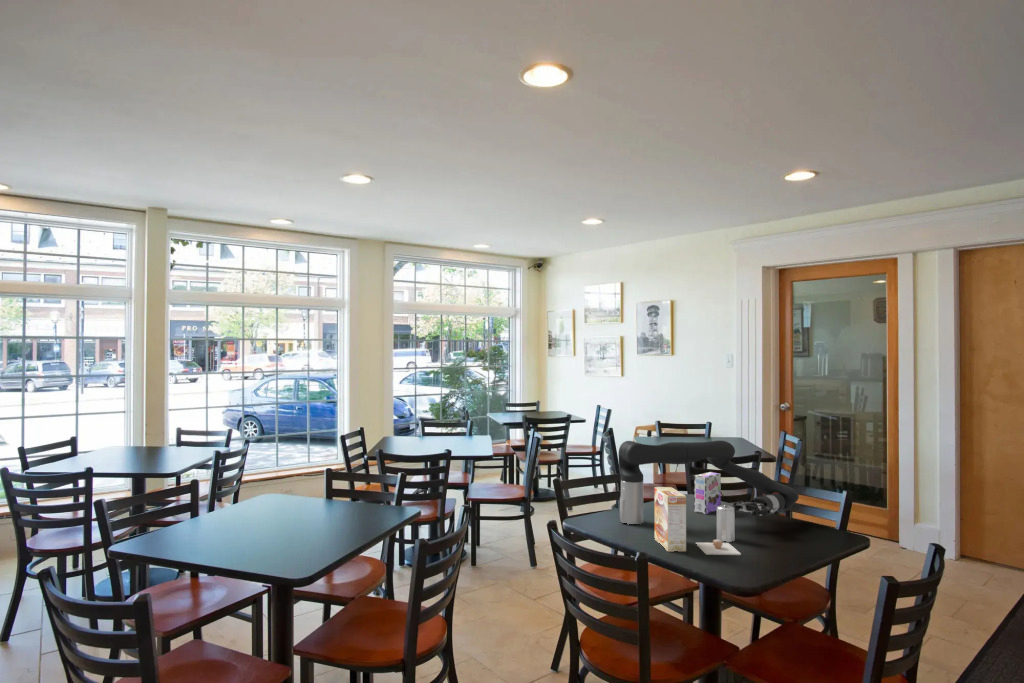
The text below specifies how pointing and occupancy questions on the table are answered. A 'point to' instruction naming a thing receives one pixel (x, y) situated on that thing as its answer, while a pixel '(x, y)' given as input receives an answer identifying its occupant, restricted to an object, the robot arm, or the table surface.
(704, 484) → the candy box
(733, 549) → the white mat
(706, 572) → the table surface
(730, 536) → the faceted metal canister
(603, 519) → the table surface
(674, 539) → the coffeecake box
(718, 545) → the terracotta bowl
